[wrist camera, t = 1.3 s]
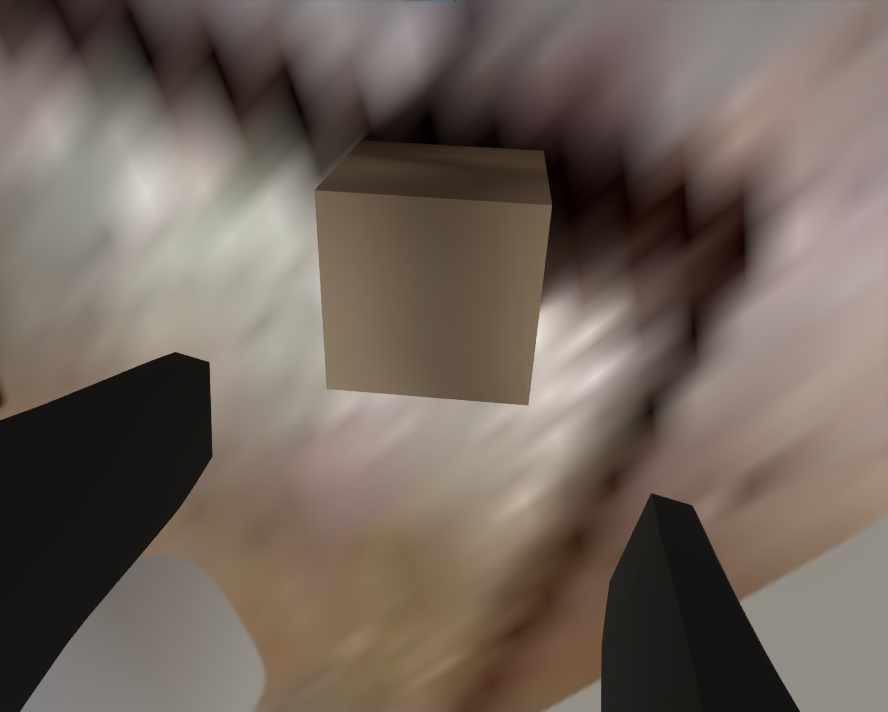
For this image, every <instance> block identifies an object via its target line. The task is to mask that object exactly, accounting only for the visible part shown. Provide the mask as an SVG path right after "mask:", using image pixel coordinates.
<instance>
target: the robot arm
mask: <svg viewBox="0 0 888 712" xmlns="http://www.w3.org/2000/svg"><path fill="white" fill-rule="evenodd" d="M211 458H212V427H211V396H210V365H209V362H207V361H204V360H200V359H197V358H193V357H190V356H187V355H183V354H180V353H177V352H174V353H172V354H169V355H166V356H163V357H160V358H158V359H155V360H152V361H150V362H147V363H145V364H142V365H140V366H137V367H135V368H132V369H130V370H127V371H125V372H122V373H120V374H118V375H115V376H113V377H110V378H108V379H106V380H103V381H101V382H98V383H96V384H93V385H91V386H88V387H86V388H83V389H81V390H78V391H76V392H73V393H71V394H69V395H66V396H64V397H61V398H59V399H56V400H54V401H51V402H49V403H46V404H44V405H41V406H39V407H36V408H33V409H30V410H28V411H25V412H22V413H19V414H17V415H14V416H11V417H8V418H6V419H3V420H0V712H20V711H21V709H22V707H23V706H24V705H25V703H26V702H27V700H28V699H29V697H30V696H31V695H32V693H33V692H34V690H35V689H36V687H37V686H38V685H39V683H40V682H41V680H42V679H43V677H44V676H45V674H46V673H47V671H48V670H49V669H50V667H51V666H52V664H53V663H54V661H55V660H56V659H57V657H58V656H59V654H60V653H61V651H62V650H63V648H64V647H65V646H66V644H67V643H68V642H69V640H70V639H71V638H72V637H73V635H74V634H75V633H76V632H77V630H78V629H79V628H80V626H81V625H82V624H83V622H84V621H85V620H86V619H87V618H88V616H89V615H90V614H91V613H92V612H93V610H94V609H95V608H96V607H97V606H98V604H99V603H100V602H101V601H102V600H103V599H104V597H105V596H106V595H107V594H108V593H109V592H110V590H111V589H112V588H113V587H114V586H115V584H116V583H117V582H118V581H119V580H120V579H121V577H122V576H123V575H124V574H125V573H126V571H127V570H128V569H129V568H130V567H131V566H132V564H133V563H134V562H135V561H136V560H137V558H138V557H139V556H140V555H141V554H142V553H143V551H144V550H145V549H146V548H147V547H148V545H149V544H150V543H151V542H152V541H153V539H154V538H155V537H156V536H157V535H158V533H159V532H160V531H161V530H162V529H163V527H164V526H165V525H166V524H167V523H168V521H169V520H170V519H171V518H172V517H173V515H174V514H175V513H176V512H177V510H178V509H179V508H180V507H181V505H182V504H183V502H184V501H185V499H186V498H187V496H188V495H189V493H190V492H191V490H192V488H193V487H194V485H195V484H196V482H197V481H198V479H199V477H200V476H201V474H202V473H203V471H204V469H205V468H206V466H207V464H208V463H209V461H210V460H211ZM601 712H800V711H799V709H798V707H797V706H796V704H795V702H794V701H793V699H792V697H791V696H790V694H789V692H788V690H787V689H786V687H785V685H784V684H783V682H782V680H781V679H780V677H779V675H778V673H777V672H776V670H775V668H774V666H773V664H772V663H771V661H770V659H769V657H768V656H767V654H766V652H765V650H764V648H763V646H762V645H761V643H760V641H759V639H758V637H757V635H756V633H755V631H754V629H753V628H752V626H751V624H750V622H749V620H748V618H747V616H746V615H745V612H744V611H743V609H742V607H741V605H740V603H739V601H738V599H737V597H736V595H735V593H734V591H733V589H732V587H731V585H730V583H729V581H728V579H727V577H726V575H725V572H724V570H723V568H722V566H721V564H720V562H719V560H718V558H717V556H716V554H715V552H714V549H713V547H712V545H711V543H710V541H709V539H708V537H707V535H706V532H705V530H704V528H703V526H702V524H701V522H700V520H699V518H698V515H697V513H696V512H695V510H694V508H693V506H692V505H689V504H686V503H682V502H679V501H675V500H672V499H669V498H665V497H662V496H659V495H655V494H652V493H651V495H650V497H649V499H648V501H647V503H646V505H645V508H644V510H643V512H642V514H641V516H640V518H639V520H638V522H637V525H636V527H635V529H634V531H633V533H632V535H631V537H630V540H629V542H628V544H627V546H626V548H625V550H624V552H623V554H622V557H621V559H620V561H619V563H618V565H617V567H616V569H615V571H614V574H613V576H612V578H611V580H610V583H609V591H608V598H607V606H606V613H605V622H604V630H603V639H602V668H601Z"/></svg>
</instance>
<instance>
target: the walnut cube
mask: <svg viewBox="0 0 888 712" xmlns="http://www.w3.org/2000/svg"><path fill="white" fill-rule="evenodd" d="M315 202H316V218H317V234H318V251H319V267H320V283H321V299H322V316H323V332H324V348H325V364H326V381H327V389H335V390H347V391H359V392H372V393H384V394H396V395H408V396H420V397H433V398H445V399H457V400H469V401H481V402H494V403H506V404H518V405H528V403H529V395H530V386H531V378H532V370H533V361H534V353H535V344H536V336H537V328H538V319H539V311H540V302H541V294H542V286H543V277H544V269H545V260H546V252H547V244H548V235H549V227H550V219H551V210H552V201H551V195H550V189H549V182H548V176H547V169H546V163H545V157H544V151H538V150H521V149H504V148H487V147H469V146H452V145H435V144H418V143H400V142H383V141H366V140H361V141H360V142H359V143H358V144H357V145H356V147H355V148H354V149H353V150H352V151H351V152H350V153H349V154H348V155H347V156H346V157H345V158H344V159H343V161H342V162H341V163H340V164H339V165H338V166H337V167H336V168H335V169H334V170H333V171H332V172H331V173H330V175H329V176H328V177H327V178H326V179H325V180H324V181H323V182H322V183H321V184H320V185H319V186H318V187H317V188H316V190H315Z"/></svg>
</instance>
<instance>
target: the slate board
mask: <svg viewBox="0 0 888 712" xmlns="http://www.w3.org/2000/svg"><path fill="white" fill-rule="evenodd" d="M412 1H435V2H455V1H457V0H412Z"/></svg>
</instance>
